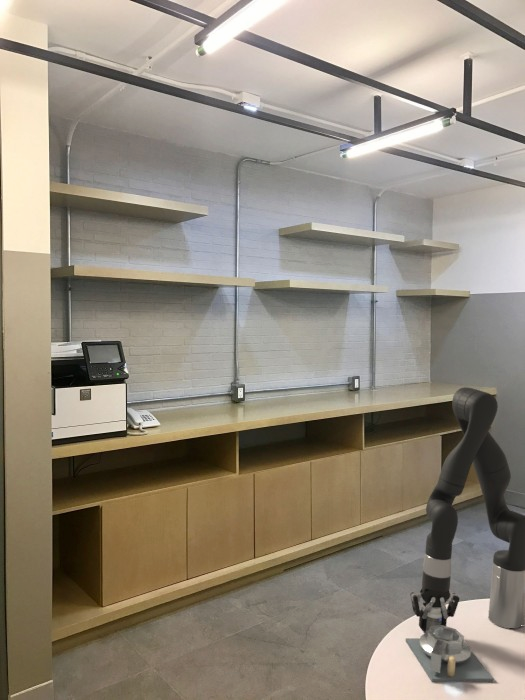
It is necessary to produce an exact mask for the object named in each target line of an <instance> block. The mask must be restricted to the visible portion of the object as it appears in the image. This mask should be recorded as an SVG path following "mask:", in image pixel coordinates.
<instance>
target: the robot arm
mask: <svg viewBox="0 0 525 700" xmlns="http://www.w3.org/2000/svg"><path fill="white" fill-rule="evenodd" d="M452 397H453V398H452V402H451V403H452V404H451V405H452V411H453V414H454V416H455V419H456V421H457V423H458V425H459V427H460V430H461V431H462V435H463V437H462V438H461V440H460V441H459V442H458V444H457V445H455V447H454V448H453V449H452V450H451V451H450V452H449V453H448V455H447V456H446V458H445V459H444V462H443V464H442V467H441V471H440V474H439V476H438V479H437V483H436V485H435V486H434V488H433V489H432V492H431V493H430V495H429V498H428V500H427V502H426V508H425V512H426V515H427V517H428V519H429V520H430V521H431V523H432V524H431V531H430V532H429V533H428V534H427V535H426V541H425V552H424V558H423V565H422V578H421V580H422V581H421V589H420V591H419V592H416V593H415V592H413V591H411V592H410V594H409V595H410V600H411V605H412V611H413V613H414V614H415V615H416V617H419V618H418V626H419V628H420V629H421V631H422V632H423V631H426V622H427V619H426V617H427V615H428V612H430V610H431V608H432V607H441V614H442V623H441V625H443V626H447V623H448V622H447V619H448V618H450V617H451V618H454V616H455V615H456V610H457V608H458V604H459V602H460V597H459V596H458V595H457V593H455V592H452V593H451V592H450V589H451V575H452V553H453V551H452V550H453V540H455V536H456V531H457V529H458V525H459V524H458V523H459V517H458V512H457V510H456V509H455V507H454V506H453V503H454V501H455V499H456V497H459V496H460V495H462V493H463V491H464V489H465V485H466V482H467V479H468V477H469V476H468V475H469V473H470V469H471V467H472V465H473V468H474V471H475V475H476V477H477V480H478V482H479V483H478V484H479V486H480V489H481V494H482V498H483V500H484V504H485V505H484V506H485V510H486V514H487V520H488V521H487V522H488V525H489V530H490V531H491V534H492V535H494V537H495V538H497V539H499V540H501V541H504V542H505V543H509V545H508V549H507V550H506V549H504V550H503V549H502V550H497V551H495V552H494V554H493V558H492V567H491V581H490V583H491V584H490V593H489V595H490V596H489V605H488V616H487V618H488V620H489V621H490V622H491V623H492V624H494V625H496V626H499V627H501V628H505V629H509V628H517V629H519V628H518V627H520V626H521V625H525V515H524V514H522V513H520V512H519V513H518V512H516V511H513V510H511V509H510V508H509V507H508V505H507V503H506V500H505V493H506V491H507V489H508V487H509V486H510V485H509V484H510V483H511V482H510V481H511V478H512V476H511V470H510V467H509V464H508V460H507V457H506V454H505V452H504V451H503V449H502V448H501V446H500V444H499V443H498V442H497V441H496V440H495V438H494V437H493V435H492V434H491V433H490V431H489V430H490V429H491V426H492V424H493V422H494V420H495V418H496V416H497V412H498V407H499V406H498V401H497V399H496V397H495V396H494V395H493V394H491V393H489V392H485V391H483V390H480V389H476V388H472V387H465V386H464V387H460V388H459V389H457V390H456V391H455V392H454V394H453V396H452ZM421 598H422V602H421V601H420V600H421ZM448 600H449V602H448ZM420 602H421V605H420V604H419V603H420ZM447 602H448V605H447V606H446V603H447ZM521 627H522V626H521ZM521 627H520V628H521Z"/></svg>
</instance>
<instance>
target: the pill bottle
mask: <svg viewBox="0 0 525 700" xmlns="http://www.w3.org/2000/svg"><path fill="white" fill-rule="evenodd" d="M426 619H427V622H426V631H422V632H423V634H425V633H428V631H429V629H430V627H431V626H439V625H441V623H442V614H441V607H432V608H431V610H430V612H428V615H427V617H426Z"/></svg>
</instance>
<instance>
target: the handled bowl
mask: <svg viewBox="0 0 525 700" xmlns="http://www.w3.org/2000/svg"><path fill="white" fill-rule="evenodd" d="M464 637H465V636H464V635H463V634H462V633H461V632H460V631H459V630H457V628H453V627H450V626H447V625H446V626H443V625H439V626H431V627H430V629H429V631H428V633H425V634H424V633H423V634H422V635H421V636H420V637H419V638H420V641H419V646H420V648H421V650H422V651H423V652H424V653H425V654H427V655H428V656H430V657H431V664H430V670H432V671H435V672H438V673H440V672H441V669H442V667H443V665H444V662H446V663H448V657H449V656H453V657H455V658H456V662H455V663H463V662H466V661H468V660H469V659H470V656H471V651H472V649H471V647H470V646H469V644H468V643H467V642H466V641H465V639H464Z"/></svg>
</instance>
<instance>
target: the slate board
mask: <svg viewBox="0 0 525 700" xmlns="http://www.w3.org/2000/svg"><path fill="white" fill-rule="evenodd" d="M419 641H420V637H419V638H414V637H413V638H410V637H408V638H405V643H406V644H407V645H408V647H409V649H410V651H411V652H412V654H413V655H414V657H415V658H416V660H417V661H418V663H419V664H420V666H421V668H422V669H423V671H424V672H425V673H426V676H427V677H428V679H429V680H430V682H432V683H455V682H456V683H469V682H470V683H475V682H476V683H477V682H478V683H480V682H481V683H484V682H485V683H487V682H489V683H493V682H495V678H494V677H493V676H492V675H493V674H491V673H490V672H489V670H488V669H487V668H486V667H485V666H484V664H483V663H482V662H481V661H480V660H479V658H478V657H477V656H476V655H475V653H474V652H473V651H472V650H471V656H470V659H469V660H468V661H466V662H463V663H455V662H456V658H455V657H453V656H449V657H448V663H446V662H444V665H443V667H442V669H441V672H440V673H438V672H435V671H432V670H430V664H431V657H430V656H428V655H427V654H425V653H424V652H423V651H422V650H421V648H420V646H419Z"/></svg>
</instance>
